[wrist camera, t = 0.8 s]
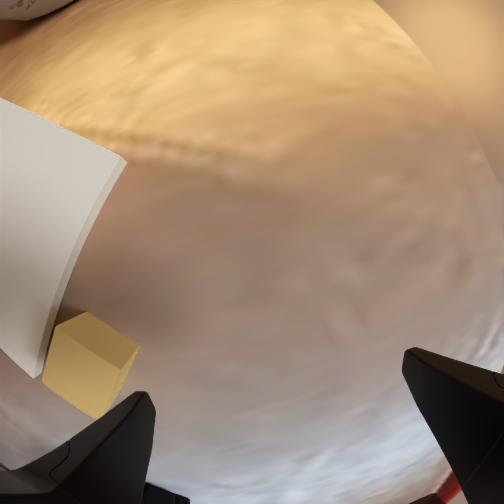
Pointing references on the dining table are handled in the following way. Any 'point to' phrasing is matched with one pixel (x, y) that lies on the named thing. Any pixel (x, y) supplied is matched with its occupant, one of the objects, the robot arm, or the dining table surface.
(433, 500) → the coffee grinder
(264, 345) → the dining table surface
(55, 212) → the board
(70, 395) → the cube
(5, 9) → the chamber pot
